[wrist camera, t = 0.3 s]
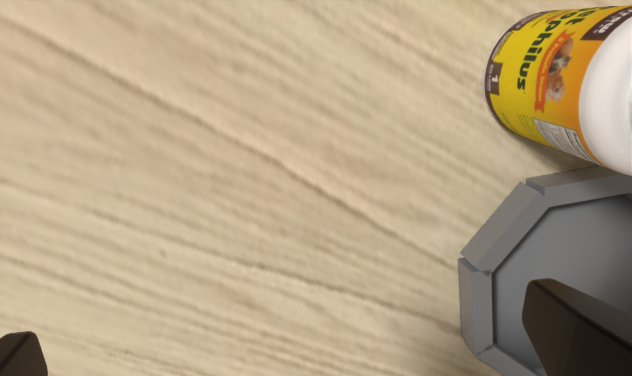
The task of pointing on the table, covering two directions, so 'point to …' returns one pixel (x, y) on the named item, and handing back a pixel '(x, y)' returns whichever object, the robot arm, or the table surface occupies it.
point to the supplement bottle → (567, 82)
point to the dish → (544, 258)
